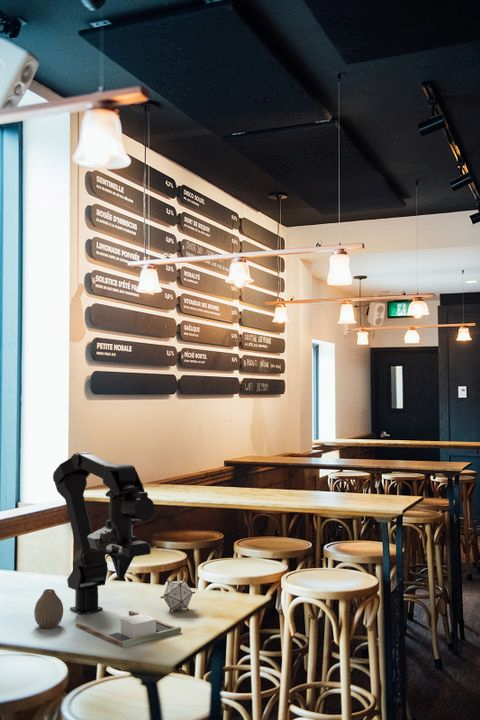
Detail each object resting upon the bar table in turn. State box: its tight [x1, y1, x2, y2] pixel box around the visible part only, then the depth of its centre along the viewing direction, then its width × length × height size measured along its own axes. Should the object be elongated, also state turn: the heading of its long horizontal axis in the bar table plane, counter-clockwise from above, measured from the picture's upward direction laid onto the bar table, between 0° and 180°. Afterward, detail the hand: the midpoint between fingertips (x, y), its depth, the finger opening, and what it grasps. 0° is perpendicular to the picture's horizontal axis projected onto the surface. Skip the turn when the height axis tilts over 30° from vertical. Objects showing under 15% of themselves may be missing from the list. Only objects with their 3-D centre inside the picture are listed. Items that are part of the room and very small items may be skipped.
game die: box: [159, 577, 196, 613], centre depth 202 cm, size 9×8×10 cm
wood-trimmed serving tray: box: [75, 610, 182, 648], centre depth 185 cm, size 21×16×1 cm
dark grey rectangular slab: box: [108, 623, 170, 641], centre depth 181 cm, size 6×14×1 cm, turn 132°
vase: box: [33, 588, 64, 630], centre depth 188 cm, size 7×7×9 cm
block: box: [120, 613, 157, 638], centre depth 181 cm, size 6×6×4 cm
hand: (120, 579), depth 190 cm, fingers closed
